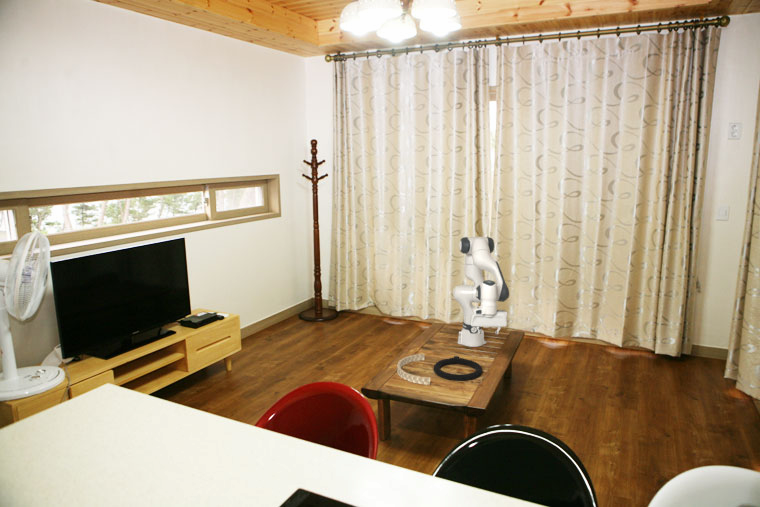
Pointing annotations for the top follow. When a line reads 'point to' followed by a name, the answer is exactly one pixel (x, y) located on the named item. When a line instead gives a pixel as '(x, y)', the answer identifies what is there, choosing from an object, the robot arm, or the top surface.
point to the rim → (408, 376)
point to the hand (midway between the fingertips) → (488, 334)
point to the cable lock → (455, 376)
